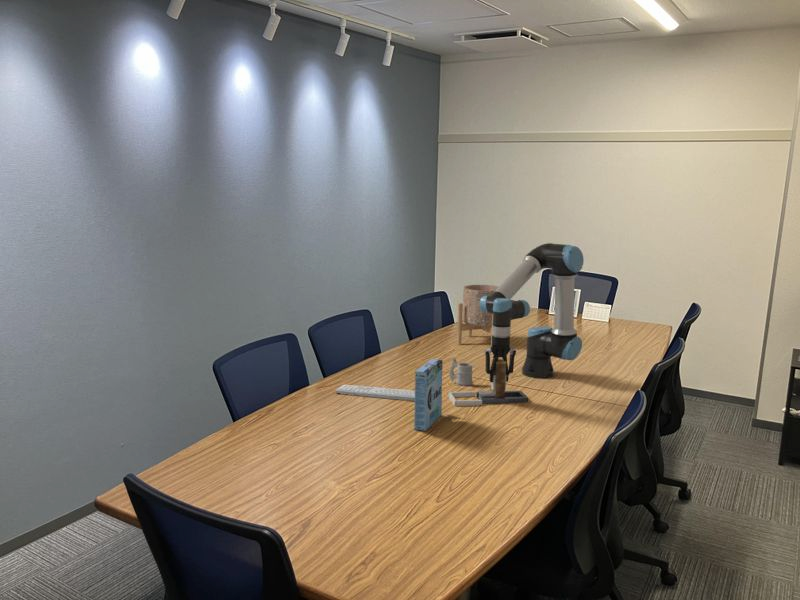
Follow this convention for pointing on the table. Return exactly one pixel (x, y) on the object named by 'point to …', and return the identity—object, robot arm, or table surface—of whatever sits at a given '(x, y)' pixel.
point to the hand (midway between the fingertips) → (498, 388)
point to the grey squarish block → (483, 394)
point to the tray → (464, 402)
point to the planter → (474, 311)
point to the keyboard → (377, 392)
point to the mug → (462, 373)
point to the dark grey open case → (506, 398)
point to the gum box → (428, 394)
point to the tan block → (500, 378)
